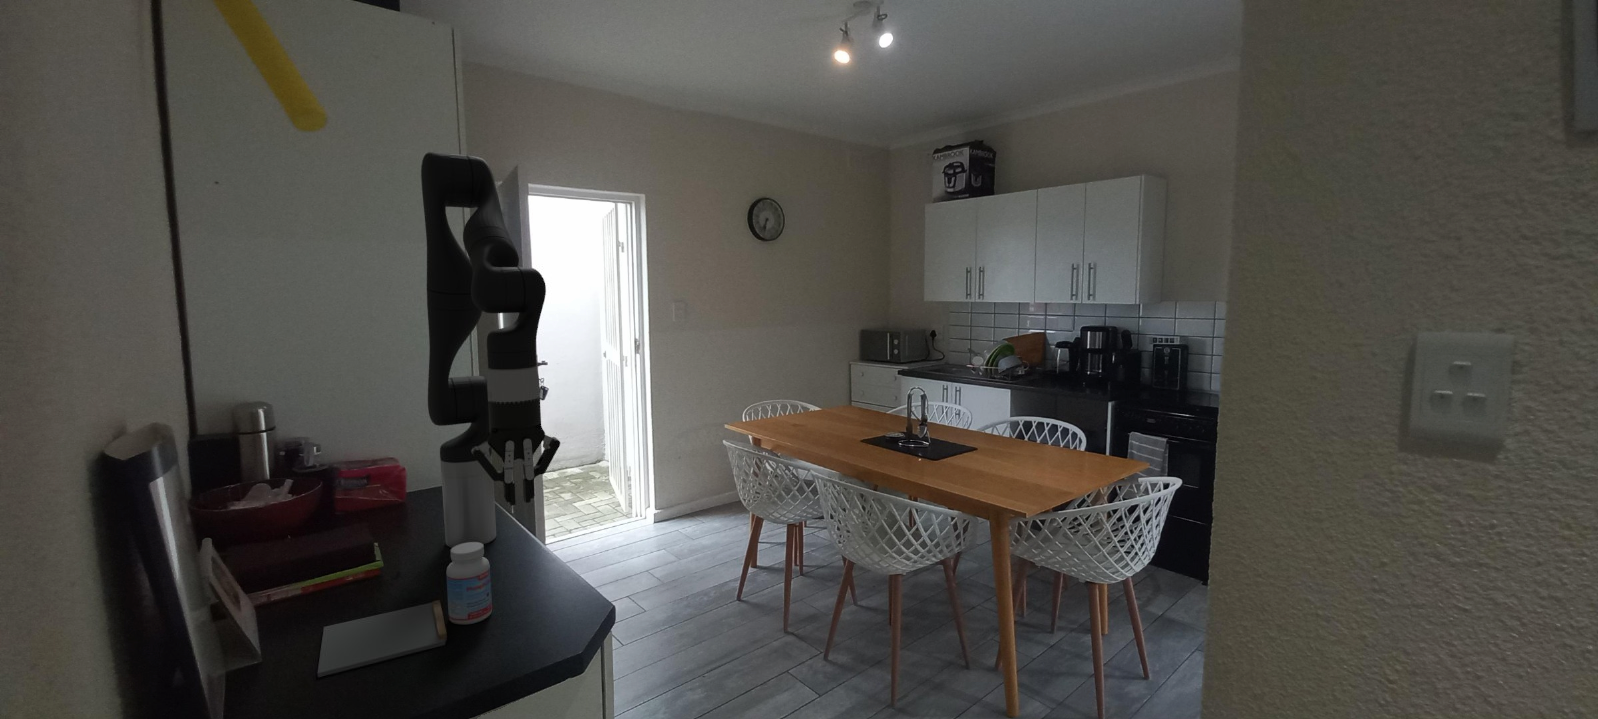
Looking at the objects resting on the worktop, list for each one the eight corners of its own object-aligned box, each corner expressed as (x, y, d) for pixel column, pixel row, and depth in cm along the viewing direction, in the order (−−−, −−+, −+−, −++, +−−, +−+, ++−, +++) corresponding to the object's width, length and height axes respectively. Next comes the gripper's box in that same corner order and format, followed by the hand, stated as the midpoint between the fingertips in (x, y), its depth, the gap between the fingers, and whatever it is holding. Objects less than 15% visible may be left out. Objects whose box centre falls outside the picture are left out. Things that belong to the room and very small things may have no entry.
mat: (324, 630, 100) (323, 626, 100) (437, 604, 108) (437, 601, 108) (317, 677, 88) (317, 673, 88) (445, 644, 96) (445, 640, 96)
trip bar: (433, 608, 107) (432, 601, 107) (440, 607, 108) (439, 599, 107) (439, 643, 97) (438, 635, 97) (447, 641, 97) (446, 633, 97)
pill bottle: (475, 628, 101) (471, 557, 100) (440, 624, 102) (435, 553, 101) (500, 609, 107) (497, 541, 106) (467, 605, 108) (463, 538, 107)
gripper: (554, 388, 111) (558, 489, 113) (462, 396, 104) (469, 503, 106) (565, 395, 105) (569, 501, 107) (468, 403, 98) (475, 518, 100)
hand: (519, 502), depth 107 cm, fingers closed
